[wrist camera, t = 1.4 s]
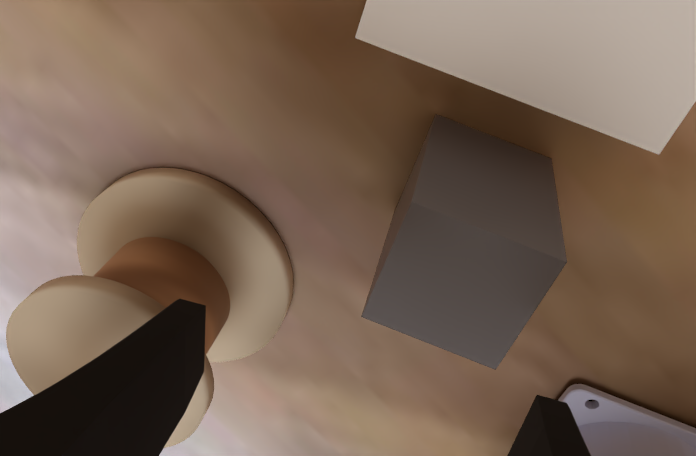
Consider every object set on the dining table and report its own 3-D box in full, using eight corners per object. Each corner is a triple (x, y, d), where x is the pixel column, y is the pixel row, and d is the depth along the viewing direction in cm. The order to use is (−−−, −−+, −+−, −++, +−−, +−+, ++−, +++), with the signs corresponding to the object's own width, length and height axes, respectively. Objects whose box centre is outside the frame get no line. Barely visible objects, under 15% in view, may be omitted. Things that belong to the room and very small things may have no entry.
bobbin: (318, 220, 23) (260, 333, 17) (266, 374, 28) (208, 499, 22) (97, 133, 23) (-30, 219, 17) (85, 302, 28) (-16, 409, 22)
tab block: (551, 158, 19) (567, 262, 14) (498, 251, 22) (495, 369, 17) (435, 113, 20) (411, 201, 15) (394, 211, 22) (361, 316, 17)
